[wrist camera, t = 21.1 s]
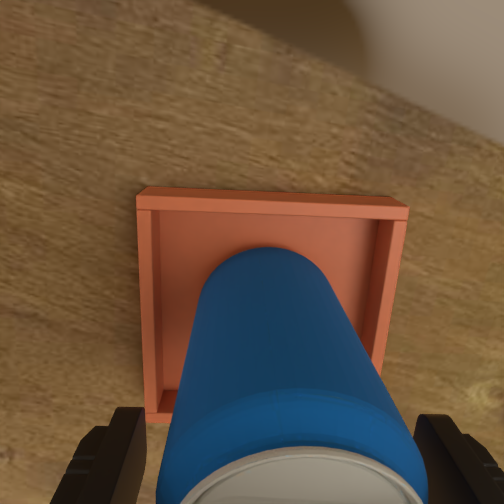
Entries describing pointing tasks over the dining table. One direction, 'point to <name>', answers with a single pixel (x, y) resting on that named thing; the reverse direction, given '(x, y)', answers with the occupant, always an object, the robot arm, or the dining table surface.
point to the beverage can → (283, 398)
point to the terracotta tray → (248, 237)
